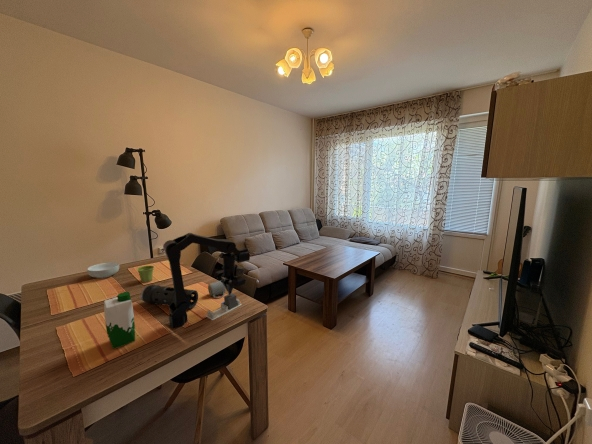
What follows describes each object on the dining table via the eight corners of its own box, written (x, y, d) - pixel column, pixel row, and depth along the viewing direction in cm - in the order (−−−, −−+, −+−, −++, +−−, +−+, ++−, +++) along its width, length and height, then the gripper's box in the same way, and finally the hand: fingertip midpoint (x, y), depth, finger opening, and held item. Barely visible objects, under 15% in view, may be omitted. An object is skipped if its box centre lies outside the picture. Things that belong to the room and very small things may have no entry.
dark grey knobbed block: (229, 309, 118) (229, 296, 117) (224, 307, 120) (224, 294, 119) (236, 306, 122) (236, 293, 120) (231, 303, 124) (231, 291, 123)
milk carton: (138, 341, 96) (132, 296, 92) (110, 352, 89) (103, 304, 86) (133, 331, 102) (128, 288, 98) (107, 340, 95) (101, 295, 92)
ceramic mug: (207, 293, 136) (207, 281, 134) (221, 290, 141) (221, 278, 139) (212, 301, 127) (212, 289, 126) (227, 297, 132) (227, 285, 131)
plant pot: (139, 279, 154) (138, 266, 153) (156, 276, 158) (154, 264, 156) (136, 284, 146) (135, 271, 144) (154, 282, 150) (153, 269, 148)
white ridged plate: (212, 321, 109) (212, 315, 109) (204, 316, 113) (204, 310, 112) (242, 305, 124) (241, 300, 123) (233, 301, 127) (233, 296, 127)
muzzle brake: (187, 314, 115) (186, 295, 113) (140, 307, 121) (137, 289, 119) (199, 304, 124) (198, 286, 122) (154, 298, 130) (152, 281, 128)
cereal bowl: (124, 274, 160) (123, 265, 159) (94, 283, 147) (92, 272, 145) (114, 269, 169) (112, 260, 168) (84, 277, 155) (83, 267, 154)
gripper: (253, 264, 118) (254, 292, 121) (230, 256, 129) (230, 283, 131) (236, 270, 109) (237, 301, 112) (212, 262, 120) (213, 290, 123)
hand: (230, 293), depth 120 cm, fingers closed
